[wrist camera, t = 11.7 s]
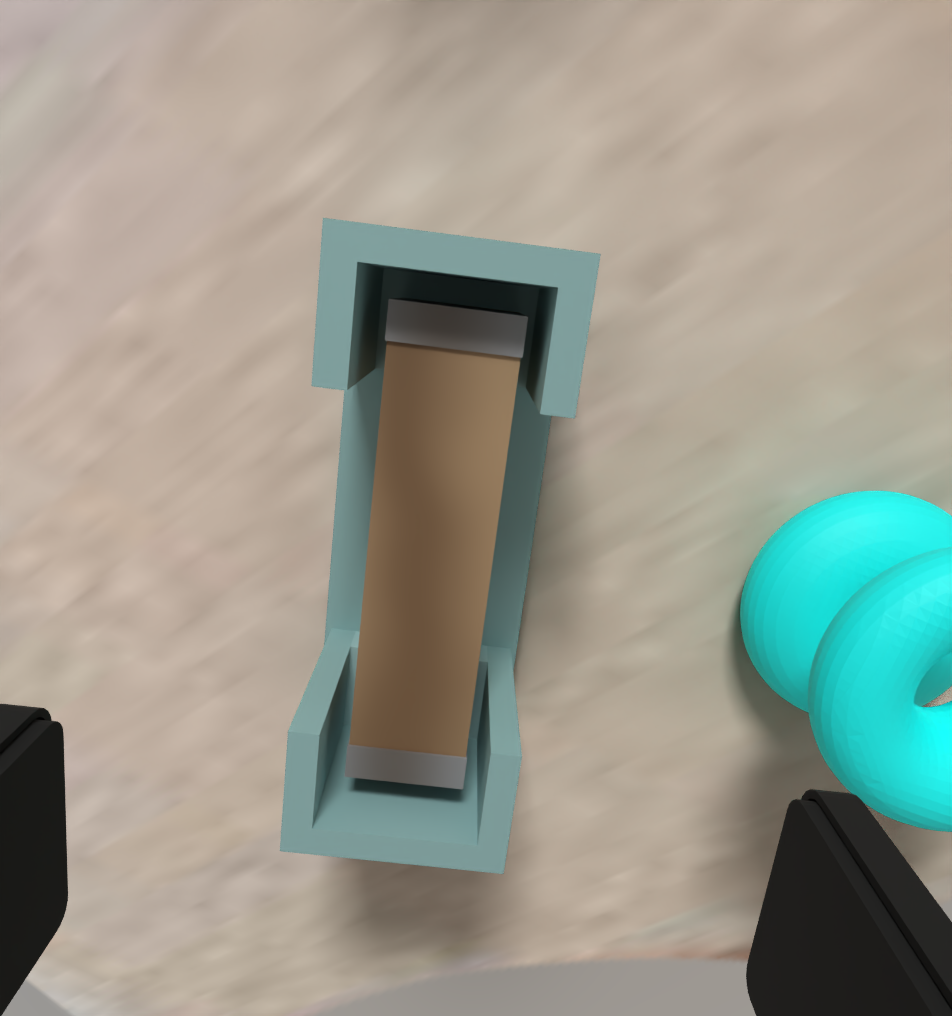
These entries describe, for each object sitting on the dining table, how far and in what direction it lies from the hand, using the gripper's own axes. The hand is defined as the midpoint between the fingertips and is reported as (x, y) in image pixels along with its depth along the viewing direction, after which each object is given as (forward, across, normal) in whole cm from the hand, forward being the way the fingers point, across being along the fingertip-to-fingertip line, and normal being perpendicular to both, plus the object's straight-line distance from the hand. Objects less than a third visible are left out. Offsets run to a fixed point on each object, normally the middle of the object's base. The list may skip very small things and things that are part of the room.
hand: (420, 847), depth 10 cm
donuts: (+24, -17, +4) cm, 30 cm away
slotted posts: (+23, +1, +2) cm, 23 cm away
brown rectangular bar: (+20, +1, +2) cm, 20 cm away
